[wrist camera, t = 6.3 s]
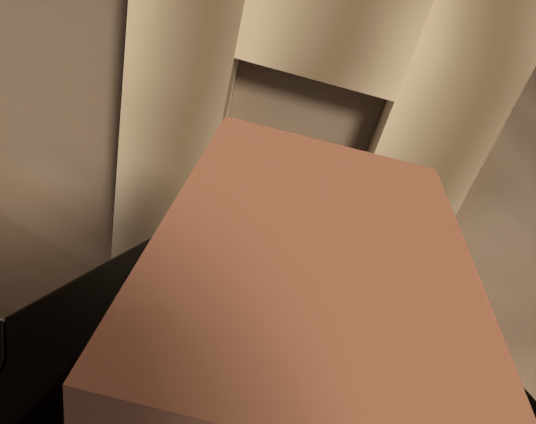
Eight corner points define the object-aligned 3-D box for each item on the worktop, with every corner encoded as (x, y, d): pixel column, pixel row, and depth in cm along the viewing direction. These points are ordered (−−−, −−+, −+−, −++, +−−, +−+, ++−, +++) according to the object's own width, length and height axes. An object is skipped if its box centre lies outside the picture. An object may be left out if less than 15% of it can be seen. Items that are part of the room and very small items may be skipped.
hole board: (121, 259, 25) (109, 277, 23) (156, -173, 15) (140, -182, 14) (380, 329, 25) (382, 350, 23) (577, -56, 15) (599, -55, 14)
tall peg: (197, 279, 11) (70, 593, 6) (225, 116, 9) (62, 384, 4) (367, 321, 11) (391, 674, 6) (436, 169, 9) (573, 513, 4)
